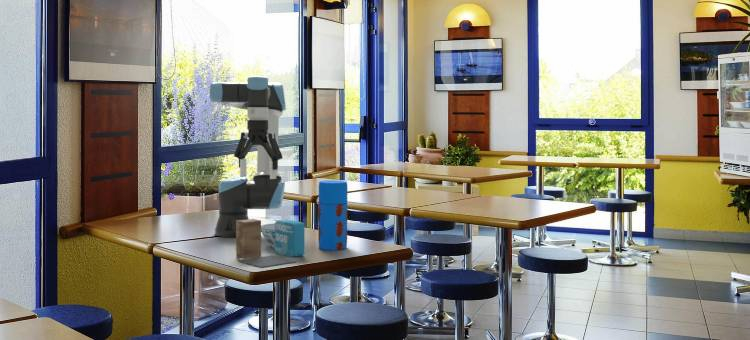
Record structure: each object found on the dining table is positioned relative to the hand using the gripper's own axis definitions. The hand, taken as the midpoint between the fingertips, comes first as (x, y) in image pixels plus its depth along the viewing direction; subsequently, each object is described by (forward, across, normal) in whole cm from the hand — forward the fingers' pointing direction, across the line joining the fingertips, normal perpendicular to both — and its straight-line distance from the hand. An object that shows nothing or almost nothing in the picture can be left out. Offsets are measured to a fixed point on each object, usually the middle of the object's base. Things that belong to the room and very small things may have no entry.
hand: (258, 177), depth 279 cm
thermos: (+27, +20, +20) cm, 39 cm away
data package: (+27, +14, 0) cm, 30 cm away
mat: (+27, +15, -15) cm, 34 cm away
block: (+27, +5, -11) cm, 29 cm away
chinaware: (+27, +1, +12) cm, 30 cm away
